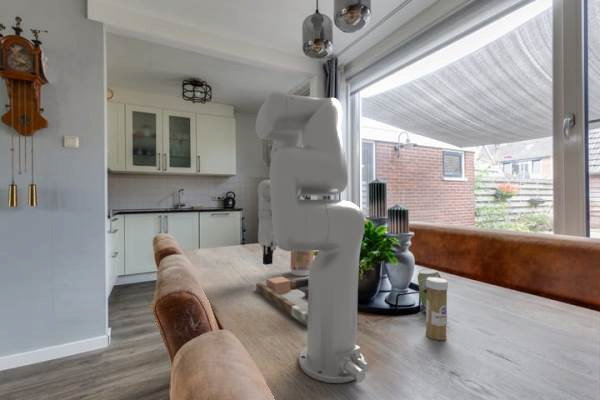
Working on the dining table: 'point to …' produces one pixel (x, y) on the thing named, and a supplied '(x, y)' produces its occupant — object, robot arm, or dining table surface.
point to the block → (279, 284)
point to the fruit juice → (301, 262)
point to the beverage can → (422, 284)
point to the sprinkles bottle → (436, 308)
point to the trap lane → (286, 304)
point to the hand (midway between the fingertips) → (267, 263)
